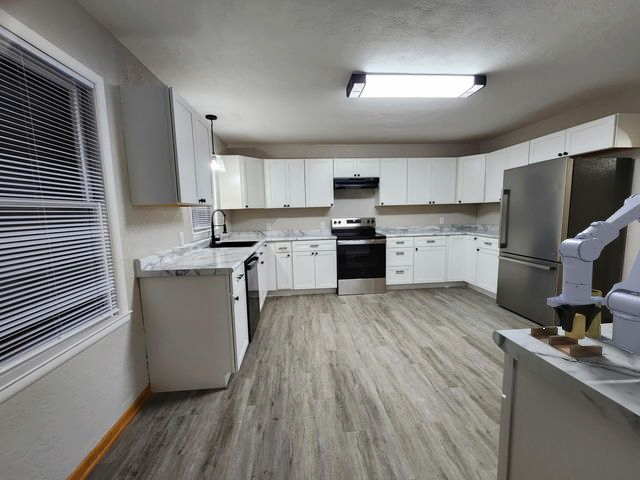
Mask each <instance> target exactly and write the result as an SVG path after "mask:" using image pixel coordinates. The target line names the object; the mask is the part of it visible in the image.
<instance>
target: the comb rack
mask: <svg viewBox="0 0 640 480" xmlns="http://www.w3.org/2000/svg"><path fill="white" fill-rule="evenodd" d="M557 327H558V326H556V325H554V326H550V325H549V326H531V327H530V333H529V334H527V335H529V336H530V337H532V338H534V339H535V340H538V341H540V342H542V343H543V344H545V345H547V346H549V347H551V348H552V349H555V350H556V351H558V352H560V353H561V354H564V355H565V356H567V357H570V358H571V359H581V358H582V359H583V358H585V359H587V358H588V359H589V358H605V357H606V355H604V354H603V346H602V345H600V344H599V345H598V344H596V345H582V344H580V343H579V339H574V338H570V337H567V336H566V335H565V334H564V335H560V334H559V327H558V328H557ZM543 328H545V329H543Z"/></svg>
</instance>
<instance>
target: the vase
mask: <svg viewBox="0 0 640 480" xmlns="http://www.w3.org/2000/svg"><path fill="white" fill-rule="evenodd" d="M602 293H603V292H602V291H601V290H597V289H593V288H592V289H591V296H598V297H602V298H603V295H602ZM596 306H597V307H600V308H601V309H602V305H596ZM601 313H602V311H601V312H600V313H598V314H597V315H596V317H595V318H594V319H593V321H592V323H591V325H590V327H589V330H588V332H585V337H588V338H596V339H597V338H601V337H602V316H601V315H602V314H601ZM600 324H601V325H600Z"/></svg>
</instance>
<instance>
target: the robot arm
mask: <svg viewBox="0 0 640 480" xmlns="http://www.w3.org/2000/svg"><path fill="white" fill-rule="evenodd" d="M635 221H637V222H638V223H639V224H640V192H639V193H638V192H637V193H633V194H632V195H630V196H629V197H628V198H626V199H624V202H623V206H622V207H620V208H619V209H618V210H617V211H615V213H613V214H612V215H611V216H610V217H609V218H607V219H606V220H605V221H593V222H592V223H590V226H588V227H587V228H586V229H584V230H583V231H582V232H578V234H576V236H575V237H574V238H567V239H565V240H563V241H562V242H561V243H560V244H559V247H558V248H557V253H558V255H559V257H560V262H561V264H562V265H563V266H562V267H563V268H562V287H561V289H562V290H561V294H559V296H558V295H557V296H553V297H547V298H546V305H547V306H550V307H552V309H553V310H554V311H555V313H556V315H557V317H558V320H559V323H560V326H561V330H562V331H564V332H565V331H566V332H572V328H573V320H574V317H575V315H576V313H577V314H581V315H584V316H585V317H586V318H585V332H588V330H589V327H590V325H591V323H592V321H593V319H594V318H595V317H596V315H597V314H598V313H600V312H601V313H602V307H601V308H600V307H597V306H596V305H601V306H605V307H606V308H607V310H609V313H610V314H612V331H611V339H603V340H602V342H605V343H606V344H609V345H610V346H613V347H615V348H618V349H621V350H624V351H626V352H627V353H631V354H633V355H640V248H639V249H638V251H637V253H636V256H635V259H634V262H633V263H632V266H631V268H630V270H629V274H628V275H627V278H626V279H625V280H624V281H619V282H618V283H615V284H613V287H612V288H611V290H610V291H609V292H608V293H607V294H606V295H605V297H603V296H602V297H598V296H591V289H593V287H592V286H593V284H592V283H593V267H594V266H593V263H594V261H595V260H598V258H599V257H600V255H601V253H602V250H604V247H606V246H607V245H608V244H610V243H611V242H613V241H614V240H616V239H617V238H618V237H619V235H620V230H621V229H623V228H625V227H627V226H628V225H629V224H632V223H633V222H635ZM573 306H574V308H572V307H573Z"/></svg>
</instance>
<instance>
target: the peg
mask: <svg viewBox="0 0 640 480" xmlns="http://www.w3.org/2000/svg"><path fill="white" fill-rule="evenodd" d="M585 318H586V317H585V316H584V315H581V314H577V313H576V315H575V317H574V320H573V328H572V332H566V331H564V335H566V336H567V337H570V338H574V339H578V340H585V337H586V336H585Z"/></svg>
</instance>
